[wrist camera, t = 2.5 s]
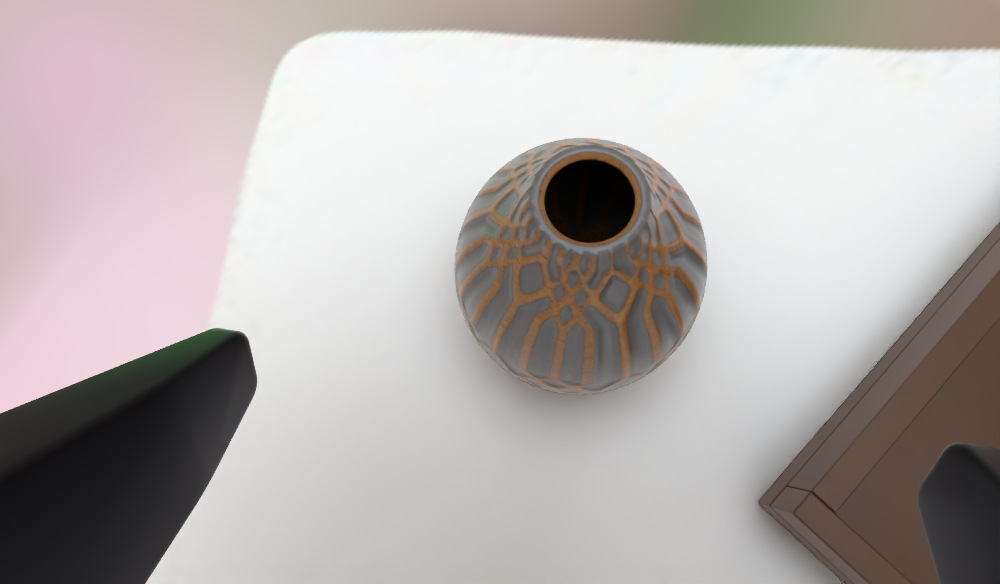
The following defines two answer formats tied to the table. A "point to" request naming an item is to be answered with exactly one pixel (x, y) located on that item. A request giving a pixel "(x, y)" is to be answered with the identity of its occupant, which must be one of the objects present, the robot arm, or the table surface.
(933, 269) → the table surface
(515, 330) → the vase
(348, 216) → the table surface
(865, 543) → the tray
